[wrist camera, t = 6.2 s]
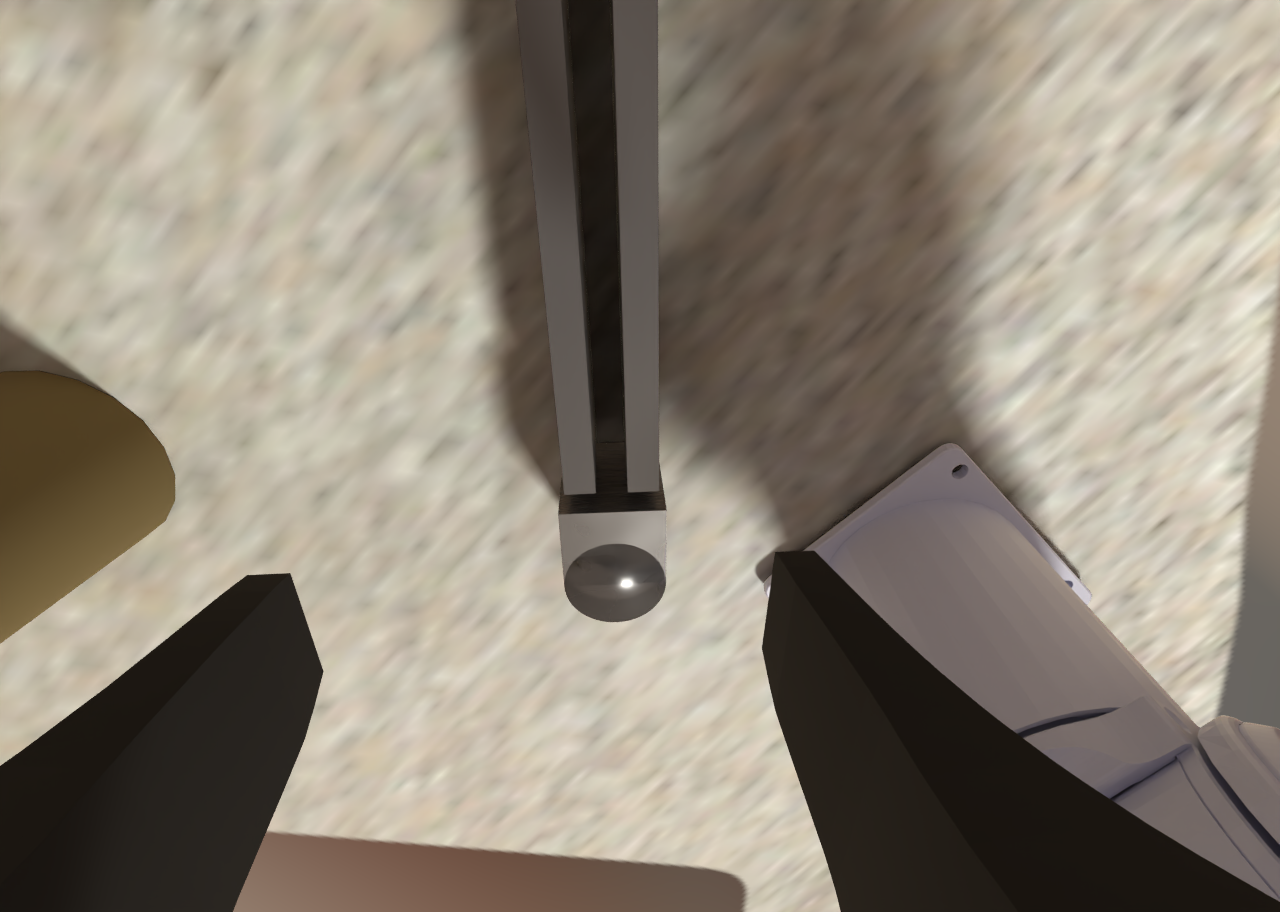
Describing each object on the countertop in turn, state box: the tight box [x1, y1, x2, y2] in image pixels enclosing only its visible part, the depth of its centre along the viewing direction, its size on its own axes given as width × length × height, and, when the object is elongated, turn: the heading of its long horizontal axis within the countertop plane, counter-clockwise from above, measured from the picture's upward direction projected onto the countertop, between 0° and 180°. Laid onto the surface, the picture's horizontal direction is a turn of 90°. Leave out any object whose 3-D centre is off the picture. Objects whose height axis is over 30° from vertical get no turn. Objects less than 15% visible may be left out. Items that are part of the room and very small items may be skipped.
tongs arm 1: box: [610, 0, 659, 492], centre depth 14 cm, size 17×1×4 cm, turn 1°
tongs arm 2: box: [516, 0, 596, 495], centre depth 14 cm, size 17×1×4 cm, turn 2°
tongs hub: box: [558, 442, 667, 622], centre depth 20 cm, size 4×3×4 cm
